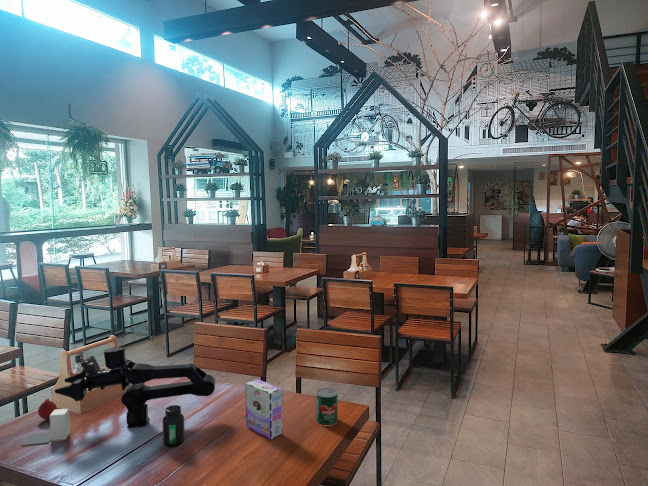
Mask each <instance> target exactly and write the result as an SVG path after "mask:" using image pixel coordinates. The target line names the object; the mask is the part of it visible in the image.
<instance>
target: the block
mask: <svg viewBox="0 0 648 486" xmlns="http://www.w3.org/2000/svg"><path fill="white" fill-rule="evenodd" d="M49 425H50V426H49V427H50V428H49V429H50V432H49V433H51V441H50V442H58V441H66V440H67V439H68V437H69V436H70V434H71V426H70V425H71V423H70V408H68V407H67V408H57V409H56V410H54V411H53V412H52V413H51V415H50V419H49Z"/></svg>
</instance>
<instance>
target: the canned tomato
mask: <svg viewBox="0 0 648 486" xmlns="http://www.w3.org/2000/svg"><path fill="white" fill-rule="evenodd" d="M315 394H316V395H315V399H316V400H315V410H316V411H315V418H316V419H315V422H316V421H317V422H318V423H319V424H321V425H333V424H335V423H336V422H337V423H338V401H339V400H338V398H339V397H338V395H339V392H338V391H337V389H334V388H330V387H323V388H320V389H317V390H316V392H315ZM335 425H336V424H335ZM333 426H334V425H333Z"/></svg>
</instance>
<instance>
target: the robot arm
mask: <svg viewBox="0 0 648 486" xmlns="http://www.w3.org/2000/svg"><path fill="white" fill-rule="evenodd" d="M103 356H104V363H105V367H106V368H107V369H106V368H104V367H102V368H101V367H100V364H99V363H98V361H97V359H96V358H95V356H94V355H91V356H89V357H86V358H84V359H83V361H82V362H81V363H80V365H81V368H82V369H83V370H82V371H81V372H79V373H76V374H74V375H71V376H69V377H67V378H64V383H68V384H69V385H65V386H62V387H59V388H56V389H54V393H55V394H58V395H61V396H65V397H68V398H71V399H73V400H74V402H80V401H83V400H84V399H85V397H86V396H87V394H88V393H89V392H92V391H93V390H94V389H100V390H105V389H106V387H108V388H109V387H113V386H120V385H121V390H122V391H124V390H125V391H124V392H123V394H122V396H121V398H120V399H121V404H123V405H124V406H125V407H126V409H127V411H126V415H125V416H126V424H127V426H126V427H127V429H131V428H141V427H142V428H143V427H146V426H148V423H149V421H150V416H149V407H148V405H149V404H148V403H147V402H148V401H149V400H150V401H151V400H157V399H165V398H170V397H176V396H178V397H179V396H184V395H185V396H186V395H193V396H196V397H209V396H211V395H212V394H213V393H214V392H215V389H216V379H215V377H214V376H213V375H212V374H207V373H206V372H205V371H204V370H202V369H200V368H199V367H197V366H196V365H195V364H194V363H187V364H171V365H158V366H157V365H151V364H148V363H147V364H146V363H138V362H137V363H136V362H134V361H133V360H130V359H128V358H126V347H120V346H112V347H108V348H106V349H104V350H103ZM174 378H175V379H176V378H187V379H188V381H181V382H175V383H166V384H159V385H152V386H151V385H150V386H149V385H146V382H147V383H148V382H149V381H153V380H160V379H161V380H162V379H163V380H164V379H174Z"/></svg>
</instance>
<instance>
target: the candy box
mask: <svg viewBox="0 0 648 486" xmlns="http://www.w3.org/2000/svg"><path fill="white" fill-rule="evenodd" d="M283 411H284V409H283V388H281V387H280V386H277V385H274V384H271V383H269V382H266V381H264V380H261V379H259V378H256V379H254V380H250V381H247V382H245V417H246V418H245V419H246V421H245V422H246V423H245V426H246V428H247V427H248V429H249V428H250V430H251V429H252V430H251V431H253V430H254V431H253V432H255V431H256V432H255V433H257V432H258V433H257V434H259V433H260V434H259V435H260V436H262V437H265V436H266V437H267V438H266V437H265V438H266V439H268V438H269V440H270V439H271V440H273V439H275V438H277V436H278V437H280V436H282V435H283V434H284V432H283V431H284V428H283V426H284V425H283V424H284V423H283V422H284V421H283V416H284V415H283ZM282 433H283V434H282ZM281 434H282V435H281ZM279 435H280V436H279ZM274 437H275V438H274Z"/></svg>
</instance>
